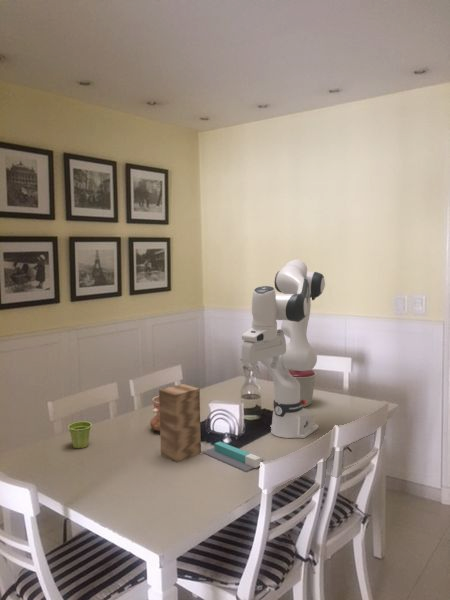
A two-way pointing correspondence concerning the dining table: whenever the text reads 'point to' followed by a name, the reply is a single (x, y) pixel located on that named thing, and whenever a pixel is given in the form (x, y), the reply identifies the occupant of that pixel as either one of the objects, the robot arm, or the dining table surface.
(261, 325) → the robot arm
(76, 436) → the plant pot
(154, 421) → the ceramic jug
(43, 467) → the dining table surface
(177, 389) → the tall stand
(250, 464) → the block
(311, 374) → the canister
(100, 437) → the dining table surface
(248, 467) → the mat
